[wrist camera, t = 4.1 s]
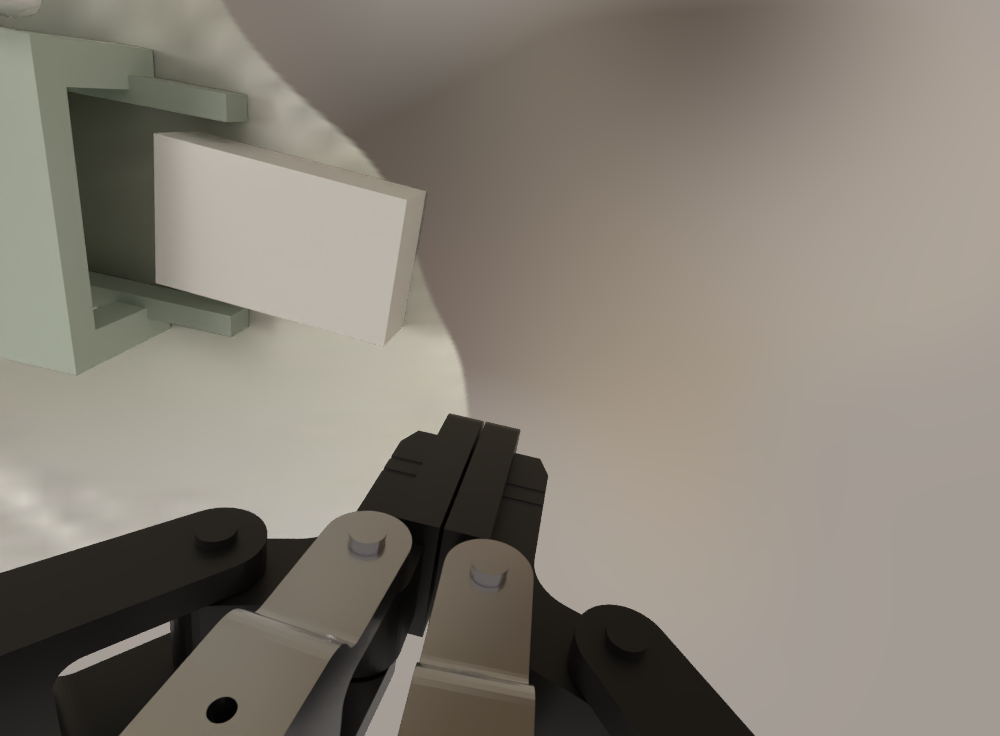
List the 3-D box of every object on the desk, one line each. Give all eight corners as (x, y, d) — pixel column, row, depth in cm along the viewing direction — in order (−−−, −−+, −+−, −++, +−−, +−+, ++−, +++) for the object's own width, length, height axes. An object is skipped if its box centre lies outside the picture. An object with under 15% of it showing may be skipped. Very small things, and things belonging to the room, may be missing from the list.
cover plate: (202, 130, 26) (153, 133, 23) (428, 190, 25) (406, 199, 22) (199, 266, 28) (155, 282, 25) (405, 323, 27) (383, 346, 25)
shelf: (-52, 11, 25) (-226, -15, 20) (246, 67, 24) (147, 56, 19) (-1, 289, 30) (-128, 327, 25) (248, 345, 29) (171, 397, 24)
